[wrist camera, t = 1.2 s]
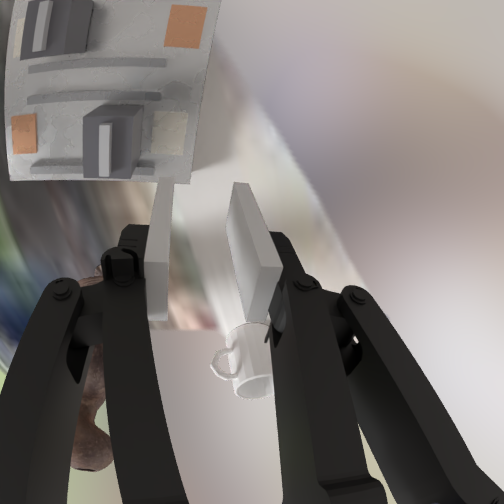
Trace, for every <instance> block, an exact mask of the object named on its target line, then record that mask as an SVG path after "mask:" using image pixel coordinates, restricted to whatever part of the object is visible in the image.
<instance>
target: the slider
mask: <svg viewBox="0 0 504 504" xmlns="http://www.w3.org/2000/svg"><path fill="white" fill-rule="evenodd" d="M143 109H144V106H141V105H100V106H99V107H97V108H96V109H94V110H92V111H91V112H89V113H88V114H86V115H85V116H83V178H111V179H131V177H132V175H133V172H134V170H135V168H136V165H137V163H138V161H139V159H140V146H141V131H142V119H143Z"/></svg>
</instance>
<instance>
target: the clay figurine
mask: <svg viewBox="0 0 504 504" xmlns="http://www.w3.org/2000/svg"><path fill="white" fill-rule="evenodd" d="M94 275H95V276H94V277H89V278H86V279H85V278H84V279H82V280H80V281H78V283H79V284H80V287H83V286H89V285H93V284H97V283H99V282H101V281H103V274H102V267H101V265H100V266H97V267H96V270H95V274H94ZM105 399H106V396H105V383H104V367H103V343H101V344H97V345H95V347H94V350H93V354H92V358H91V362H90V365H89V369H88V374H87V378H86V382H85V386H84V391H83V395H82V400H81V405H80V410H79V415H78V420H77V425H76V431H75V437H74V443H73V450H72V457H71V465H70V466H71V467H72V468H74V469H77V470H82V471H90V472H97V471H100V470H102V469H104V468H106V467H107V466H108V465H109V464H110V463H111V462H112V461H113V460H114V458H113V452H112V446H111V439H110V436H109V435H107V434H106V433H105V432H104V431H102V430H101V429H100V428H98V427H97V426H96V425H95V422H94V419H95V416H96V413H97V410H98V409H99V408H100V406H101V405H102V404H103V403H104V401H105Z"/></svg>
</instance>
